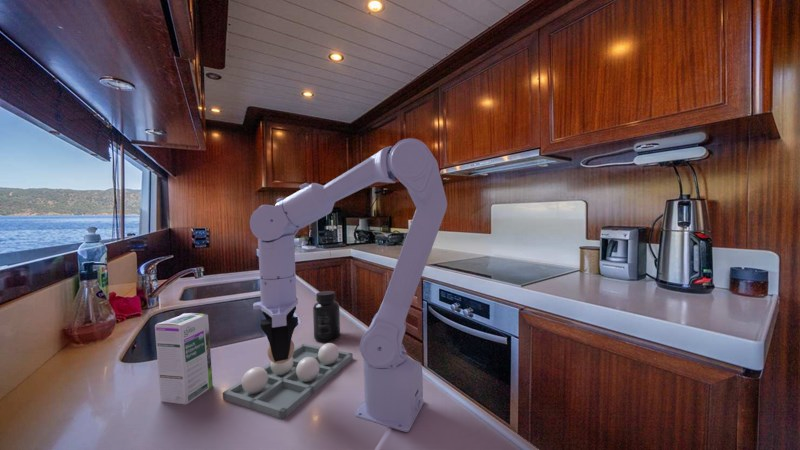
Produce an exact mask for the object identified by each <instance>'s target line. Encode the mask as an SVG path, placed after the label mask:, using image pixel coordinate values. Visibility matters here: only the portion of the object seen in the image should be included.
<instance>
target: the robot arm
mask: <svg viewBox="0 0 800 450" xmlns="http://www.w3.org/2000/svg"><path fill="white" fill-rule="evenodd" d="M396 179H397V180H398V181H399V182H400V183H401V184H402V185H403V186H404V187H405V188H406V190H407V192H408V194H409V196H410V198H411V200H412V202H413V204H414V206H415V211H414V214H413V217H412V218H411V219H412V220H411V222H410V225H409V228H408V231H407V233H406V236H405V238H404V241H403V244H402V247H401V250H400V252H399V256H398V258H397V261H396V263H395V266H394V269H393V272H392V274H391V277H390V279H389V283H388V287H387V288H386V292H385V294H384V297H383V298H382V299H383V300H382V302H381V304H380V307H379V309H378V311H377V312H376V313H375V314H374V316H373V317H372V319H371V323H370V324H369V327H368V328H367V329H366V331H365V332H364V334H362V336H361V339H360V342H359V352H360V354H361V356H362V358H363V383H364V384H363V385H364V389H363V390H364V401H363V403H362V404H361V405H360V406H359V407H358V409H357V410H356V411H355V412H354V416H355V418H359V419H363V420H364V421H369V422H373V423H376V424H380V425H383V426H386V427H388V428H391V429H393V430H397V431H402V432H404V433H409V432H410V430H411V429H412V426H413V424H414V422H416V419H417V417H418V415H419V413H420V411H421V410H422V407H423V405H424V404H425V398H424V396H423V395H424V391H423V390H424V386H423V384H424V382H423V380H424V379H423V378H424V377H423V366H422V363H421V362H420V361H417V360H415V359H414V358H411V357H410V356H409V355H408V352H407V350H406V348H405V346H404V343H403V341H404V340H403V339H404V336H405V333H406V330H407V323H406V320H407V316H408V314H409V311H410V307H411V306H412V302H413V300H414V297H415V295H416V293H417V289H418V286H419V284H420V281H421V278H422V275H423V273H424V272H425V267H426V265H427V262H428V260H429V257H430V255H431V251H432V249H433V246H434V245H435V241H436V238H437V235H438V233H439V230H440V228H441V225H442V222H443V219H444V216H445V214H446V212H447V208H448V201H447V196H446V192H445V189H444V185H443V181H442V176H441V174H440V169H439V164H438V161H437V159H436V157H435V156H434V154H433V153H432V152H431V150H430V149H429V147H428V145H426V144H425V143H424V142H423V141H422V140H421V139H417V138H411V137H409V138H404V139H401V140H399V141H398V142H396V143H395V145H393V146H392V145H389V146H386V147H384V148H383V147H382V149H381V150H379V151H377V152H376V153H374V154H373V155H371V156H370V157H368V158H366V159H364V160H363V161H362V162H361V163H360V162H359V163H358V164H356V165H355V166H353V167H352V168H350V169H348V170H347V171H345V172H343V173H342V174H340V175H339V176H337V177H336V178H333V179H332V180H331V181H329V182H326V184H324V185H323V184H320V183H317V182H312V183H308V182H305V183H302V184H300V185H299V189H300V190H297V191H296V192H294V193H292V194H290V195H289V196H287V197H285V198H284V197H280V198H277V199H276V203H275V205H272V204H271V205H270V204H261V205H260V206H259V207H258V208H256V209H255V210H254V211H253V212H252V214H251V216H250V218H249V228H250V231H251V233H252V235H253V236H254V237H256V239H257V246H258V266H259V267H258V269H259V270H258V271H259V288H260V289H259V291H260V301H255V302H253V304H252V307H253V308H252V309H253V310H261V311H262V315H263V316H264V317H265V319H261V320H260V328H261V330H262V331H263V332H264V333H263V334H265V336H266V338H267V340H268V345H269V344H270V347H271V352H272V355H273V359H274V361H275V362H276V361H282V360H287V359H288V356H289V352H290V344H291V340H292V338H293V334H294V331H295V329H296V327H297V325H298V321H299V317H298V316H294V314H295V312H296V310H297V305H298V304H299V299H298V298H297V281H296V279H297V275H296V253H295V252H296V251H295V249H296V248H295V243H296V242H295V236H296V234H298V233H299V230H301V229H304V228H306V227H307V226H309V225H311V224H313V223H315V222H316V221H319V220H320V219H322V218H324V217H326V216H328V215H329V214H331V213H332V212H333V209H334V206H335V204H336V202H338V201H340V200H342V199H344V198H346V197H349V196H351V195H352V194H354V193H357V192H359V191H360V190H363V189H365V188H367V187H368V186H371V185H372V184H376V183H386V184H387V183H389V184H395V183H396Z"/></svg>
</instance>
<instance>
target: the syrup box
mask: <svg viewBox="0 0 800 450" xmlns="http://www.w3.org/2000/svg"><path fill="white" fill-rule="evenodd" d="M154 332H155V333H154V335H155V345H156V361H157V371H158V383H159V397H160V399H159V400H160V402H161V403H162V402H164V403H170V404H171V403H173V404H177V405H178V404H180V405H188V404H190V403H191V402H192V401H194V400H195V399H197V398H198V397H199V396H201V395H202V394H204V393H206V392H207V391H208V390H210V389H211V388H212V387H213V386H214V384H213V371H212V370H213V368H212V355H211V341H210V326H209V315H208V314H207V313H201V312H200V313H198V312H195V313H194V312H189V313H188V312H187V313H186V312H184V313H182V314H180V315H179V316H175V317H172V318H169V319H167V320H164V321H162V322H161V321H160V322H157V323H156V324H155V325H154Z"/></svg>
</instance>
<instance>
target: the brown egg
mask: <svg viewBox="0 0 800 450" xmlns="http://www.w3.org/2000/svg"><path fill="white" fill-rule="evenodd" d="M294 349H295V344H294V342H293V340H292V339H291V344H290V352H289V356H288V359H287V360H282V361H276V362H275V361H274V359H273V355H272V352H271V347H270V344H269V343H268V346H267V350H266V354H267V358H268V359H269V361H270V362H271V361H272V362H273V363H277V364H281V363H285V362H286V361H288V360H289V359H290V358H291V357H292V355H293V353H294Z"/></svg>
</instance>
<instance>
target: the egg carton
mask: <svg viewBox="0 0 800 450" xmlns="http://www.w3.org/2000/svg"><path fill="white" fill-rule="evenodd" d="M353 357H354V356H353V353H351V352H345V351H341V350H339V347H338V346H337V345H336V344H334V343H332V342H325V343H324V344H323V345H322V346H315V345H311V344H306V343H302V344H300V345H298V346H297V347H294V353H293V355H292V357H291V358H290V359H289V360H288V361H286V362H285V363H281V364H277V363H273V362H272V361H271V360H270V363H269V364H267V365H266V366H264V367H260V366H255V367H252V368H250V369H248V370H247V371H246V372H244V375H242V379H241V381H239V382H237V383H236V384H234V385H232V386H230V387H229V388H227V389H226V390H225V391H223V392H222V400H223V401H227V402H230V403H232V404H236V405H239V406H242V407H244V408H248V409H250V410H254V411H257V412H260V413H263V414H266V415H268V416H272V417H275V418H278V419H279V420H280V419H281V420H285V419H286V418H287V417H288V416H289V415H290V414H291V413H293V412H294V411H295V410H297V408H299V406H301V405H302V404H303V403H305V401H306V400H308V399H309V398H310V397H311V396H312V395H314V394H315V393H316V392H317V391H318V390H319V389H320V388H321V387H322V386H324V385H325V384H326V383H327V382H328V381H329V380H331V379H332V378H333V377H334V376H335V375H336V374H338V372H340V371H341V370H342V369H343V368H344V367H345V366H346V365H348V364H349V363H350V362H351V361H352V360H353V359H354V358H353Z"/></svg>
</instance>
